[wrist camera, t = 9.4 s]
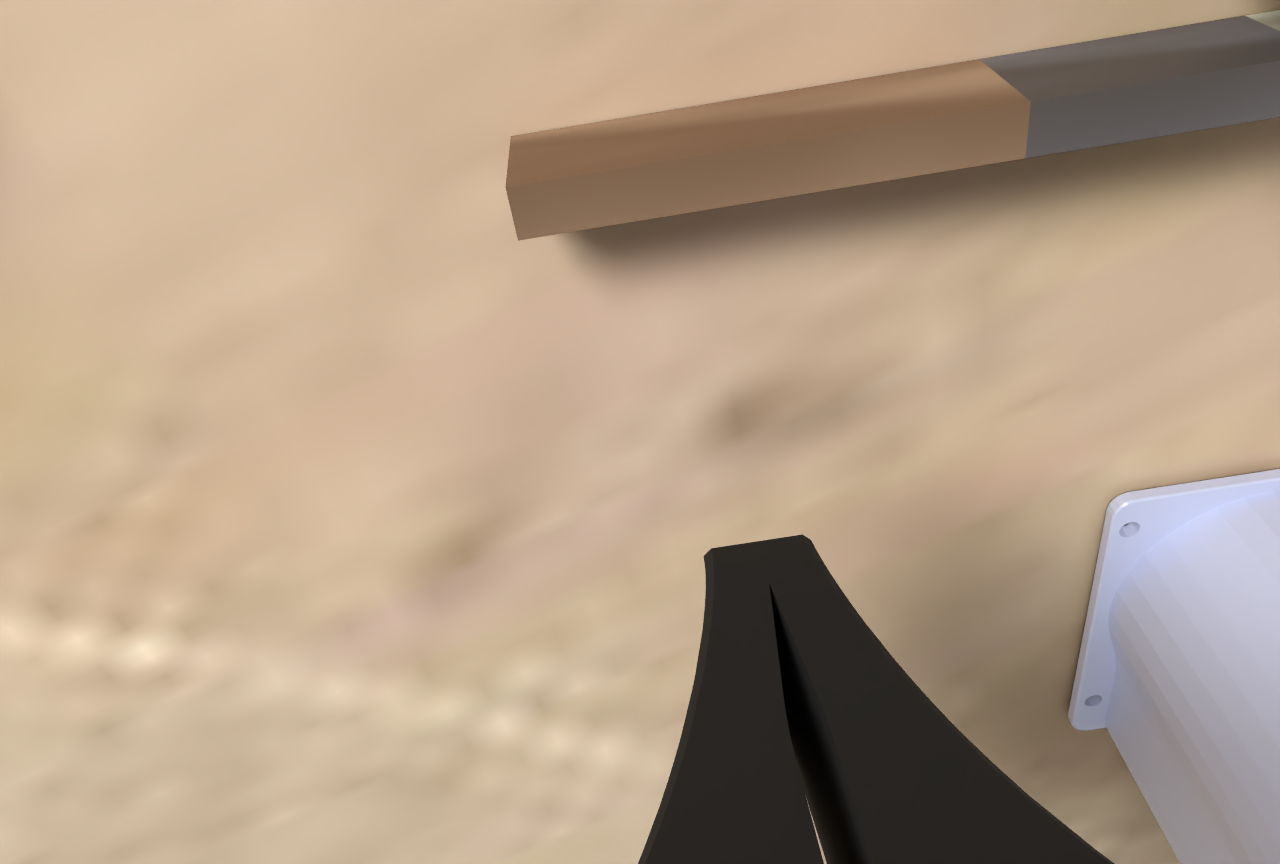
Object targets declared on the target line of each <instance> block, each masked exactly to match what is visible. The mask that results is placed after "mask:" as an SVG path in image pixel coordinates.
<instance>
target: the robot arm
mask: <svg viewBox="0 0 1280 864" xmlns="http://www.w3.org/2000/svg"><path fill="white" fill-rule="evenodd" d="M1127 523H1129V524H1128V525H1126V526H1124V525H1125V524H1127ZM704 562H705V570H706V599H705V612H704V622H703V631H702V638H701V644H700V650H699V656H698V662H697V668H696V675H695V680H694V685H693V689H692V694H691V698H690V702H689V706H688V710H687V714H686V719H685V723H684V727H683V731H682V735H681V739H680V743H679V746H678V750H677V753H676V757H675V760H674V764H673V767H672V770H671V773H670V777H669V780H668V783H667V786H666V789H665V792H664V795H663V798H662V801H661V804H660V807H659V810H658V812H657V815H656V818H655V820H654V823H653V826H652V829H651V831H650V834H649V837H648V839H647V842H646V845H645V847H644V850H643V853H642V855H641V858H640V860H639V863H638V864H824V863H823V859H822V855H821V851H820V848H819V844H818V840H817V837H816V833H815V829H814V825H813V822H812V818H811V814H812V817H813V820H814V823H815V827H816V830H817V833H818V836H819V839H820V843H821V846H822V849H823V852H824V855H825V859H826V862H827V864H1114V863H1113V862H1111V861H1110V860H1109V859H1107V858H1106V857H1105V856H1103V855H1102V854H1101V853H1099V852H1098V851H1097V850H1095V849H1094V848H1093V847H1092V846H1090V845H1089V844H1088V843H1087V842H1085V841H1084V840H1083V839H1082V838H1081V837H1079V836H1078V835H1077V834H1076V833H1074V832H1073V831H1072V830H1071V829H1069V828H1068V827H1067V826H1066V825H1065V824H1063V823H1062V822H1061V821H1060V820H1058V819H1057V818H1056V817H1055V816H1053V815H1052V814H1051V813H1050V812H1049V811H1047V810H1046V809H1045V808H1044V807H1042V806H1041V805H1040V804H1039V803H1038V802H1036V801H1035V800H1034V799H1033V798H1031V797H1030V796H1029V795H1028V794H1027V793H1025V792H1024V791H1023V790H1022V789H1021V788H1020V787H1019V786H1018V785H1017V784H1015V783H1014V782H1013V781H1012V780H1011V779H1010V778H1009V777H1008V776H1007V775H1005V774H1004V773H1003V772H1002V771H1001V770H1000V769H999V768H998V767H997V766H995V765H994V764H993V763H992V762H991V761H990V760H989V759H988V758H987V757H986V756H985V755H984V754H983V753H982V752H981V751H980V750H979V749H978V748H977V747H975V746H974V745H973V744H972V743H971V742H970V741H969V740H968V739H967V738H966V737H965V736H964V735H963V734H962V733H961V732H960V731H959V730H958V729H957V728H956V727H955V726H954V725H953V724H952V723H951V722H950V721H949V720H948V719H947V718H946V717H945V715H944V714H943V713H942V712H941V711H940V710H939V709H938V708H937V707H936V706H935V705H934V704H933V703H932V702H931V701H930V699H929V698H928V697H927V696H926V695H925V694H924V693H923V692H922V691H921V689H920V688H919V687H918V686H917V685H916V684H915V683H914V682H913V681H912V679H911V678H910V677H909V676H908V675H907V674H906V673H905V671H904V670H903V669H902V668H901V667H900V665H899V664H898V663H897V662H896V661H895V660H894V658H893V657H892V656H891V655H890V653H889V652H888V651H887V650H886V648H885V647H884V646H883V645H882V643H881V642H880V641H879V640H878V638H877V637H876V636H875V635H874V633H873V632H872V631H871V630H870V628H869V627H868V626H867V625H866V623H865V622H864V621H863V619H862V618H861V617H860V615H859V614H858V613H857V611H856V610H855V609H854V607H853V606H852V604H851V603H850V602H849V600H848V599H847V597H846V596H845V594H844V593H843V592H842V590H841V589H840V587H839V586H838V584H837V583H836V581H835V580H834V578H833V577H832V575H831V574H830V572H829V571H828V569H827V567H826V566H825V564H824V563H823V561H822V559H821V557H820V556H819V554H818V552H817V551H816V549H815V547H814V545H813V543H812V541H811V540H810V539H808V538H807V537H805V536H804V535H797V536H790V537H784V538H777V539H771V540H764V541H758V542H751V543H745V544H738V545H732V546H725V547H718V548H712V549H711V550H709V551H708V552H707V553H706V554H705V555H704ZM1068 718H1069V720H1070V722H1071V724H1072V726H1073V727H1074V728H1075V729H1078V730H1081V731H1087V730H1094V729H1101V728H1107V730H1108V732H1109V734H1110V736H1111V737H1112V739H1113V741H1114V743H1115V745H1116V747H1117V749H1118V750H1119V752H1120V754H1121V756H1122V758H1123V760H1124V761H1125V763H1126V765H1127V767H1128V769H1129V771H1130V773H1131V774H1132V776H1133V778H1134V780H1135V782H1136V784H1137V785H1138V787H1139V789H1140V791H1141V793H1142V795H1143V796H1144V798H1145V800H1146V802H1147V804H1148V806H1149V808H1150V809H1151V811H1152V813H1153V815H1154V817H1155V819H1156V820H1157V822H1158V824H1159V826H1160V828H1161V830H1162V832H1163V833H1164V835H1165V837H1166V839H1167V841H1168V843H1169V844H1170V846H1171V848H1172V850H1173V852H1174V854H1175V855H1176V857H1177V859H1178V861H1179V863H1180V864H1280V469H1276V470H1270V471H1263V472H1257V473H1250V474H1244V475H1237V476H1231V477H1224V478H1217V479H1211V480H1204V481H1198V482H1191V483H1185V484H1178V485H1171V486H1165V487H1158V488H1152V489H1145V490H1139V491H1132V492H1127V493H1124V494H1121V495H1119V496H1117V497H1116V498H1114V499H1113V500H1112V502H1111V503H1110V504H1109V506H1108V508H1107V512H1106V517H1105V522H1104V528H1103V533H1102V538H1101V543H1100V549H1099V554H1098V559H1097V565H1096V570H1095V575H1094V580H1093V586H1092V591H1091V596H1090V601H1089V607H1088V612H1087V617H1086V622H1085V628H1084V633H1083V638H1082V644H1081V649H1080V654H1079V659H1078V665H1077V670H1076V675H1075V680H1074V686H1073V691H1072V696H1071V702H1070V707H1069V712H1068ZM806 798H807V799H806ZM807 801H808V803H807ZM808 804H809V807H808ZM809 808H810V810H809ZM810 811H811V814H810Z"/></svg>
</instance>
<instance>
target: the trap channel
mask: <svg viewBox="0 0 1280 864" xmlns="http://www.w3.org/2000/svg"><path fill="white" fill-rule="evenodd" d="M1278 117H1280V10H1276V11H1270V12H1264V13H1258V14H1252V15H1246V16H1240V17H1233V18H1227V19H1221V20H1215V21H1209V22H1203V23H1197V24H1191V25H1185V26H1179V27H1173V28H1167V29H1161V30H1155V31H1148V32H1142V33H1136V34H1130V35H1124V36H1118V37H1112V38H1106V39H1100V40H1094V41H1088V42H1082V43H1076V44H1070V45H1063V46H1057V47H1051V48H1045V49H1039V50H1033V51H1027V52H1021V53H1015V54H1009V55H1003V56H997V57H991V58H985V59H978V60H972V61H966V62H960V63H954V64H948V65H942V66H936V67H930V68H924V69H918V70H912V71H906V72H900V73H893V74H887V75H881V76H875V77H869V78H863V79H857V80H851V81H845V82H839V83H833V84H827V85H821V86H815V87H809V88H802V89H796V90H790V91H784V92H778V93H772V94H766V95H760V96H754V97H748V98H742V99H736V100H730V101H724V102H717V103H711V104H705V105H699V106H693V107H687V108H681V109H675V110H669V111H663V112H657V113H651V114H645V115H639V116H632V117H626V118H620V119H614V120H608V121H602V122H596V123H590V124H584V125H578V126H572V127H566V128H560V129H554V130H547V131H541V132H535V133H529V134H523V135H517V136H511V140H510V150H509V160H508V170H507V179H506V191H507V195H508V199H509V203H510V208H511V212H512V216H513V221H514V225H515V229H516V233H517V238H518V240H524V239H530V238H536V237H542V236H548V235H555V234H561V233H567V232H573V231H579V230H586V229H592V228H598V227H604V226H610V225H616V224H623V223H629V222H635V221H641V220H647V219H653V218H660V217H666V216H672V215H678V214H684V213H691V212H697V211H703V210H709V209H715V208H721V207H728V206H734V205H740V204H746V203H752V202H759V201H765V200H771V199H777V198H783V197H789V196H796V195H802V194H808V193H814V192H820V191H826V190H833V189H839V188H845V187H851V186H857V185H864V184H870V183H876V182H882V181H888V180H894V179H901V178H907V177H913V176H919V175H925V174H932V173H938V172H944V171H950V170H956V169H962V168H969V167H975V166H981V165H987V164H993V163H999V162H1006V161H1012V160H1018V159H1024V158H1030V157H1037V156H1043V155H1049V154H1055V153H1061V152H1067V151H1074V150H1080V149H1086V148H1092V147H1098V146H1105V145H1111V144H1117V143H1123V142H1129V141H1135V140H1142V139H1148V138H1154V137H1160V136H1166V135H1172V134H1179V133H1185V132H1191V131H1197V130H1203V129H1210V128H1216V127H1222V126H1228V125H1234V124H1240V123H1247V122H1253V121H1259V120H1265V119H1271V118H1278Z"/></svg>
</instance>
